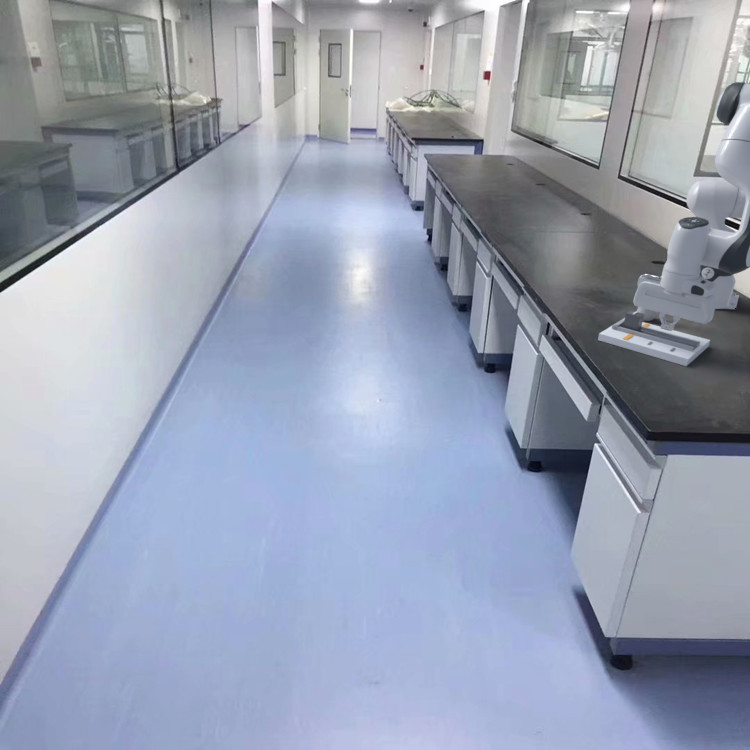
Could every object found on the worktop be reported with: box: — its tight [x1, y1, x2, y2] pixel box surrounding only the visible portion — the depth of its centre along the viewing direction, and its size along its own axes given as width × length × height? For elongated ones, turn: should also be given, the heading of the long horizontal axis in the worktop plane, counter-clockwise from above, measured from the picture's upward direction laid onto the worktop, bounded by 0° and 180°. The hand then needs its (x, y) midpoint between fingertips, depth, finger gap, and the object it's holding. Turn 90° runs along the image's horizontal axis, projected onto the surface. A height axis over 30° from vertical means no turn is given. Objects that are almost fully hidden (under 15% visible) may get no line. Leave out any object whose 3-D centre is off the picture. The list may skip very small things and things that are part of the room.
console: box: [597, 317, 711, 367], centre depth 173 cm, size 18×24×4 cm
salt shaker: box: [636, 307, 659, 322], centre depth 188 cm, size 6×6×13 cm
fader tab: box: [623, 309, 644, 332], centre depth 175 cm, size 3×4×5 cm
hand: (666, 329), depth 170 cm, fingers closed
